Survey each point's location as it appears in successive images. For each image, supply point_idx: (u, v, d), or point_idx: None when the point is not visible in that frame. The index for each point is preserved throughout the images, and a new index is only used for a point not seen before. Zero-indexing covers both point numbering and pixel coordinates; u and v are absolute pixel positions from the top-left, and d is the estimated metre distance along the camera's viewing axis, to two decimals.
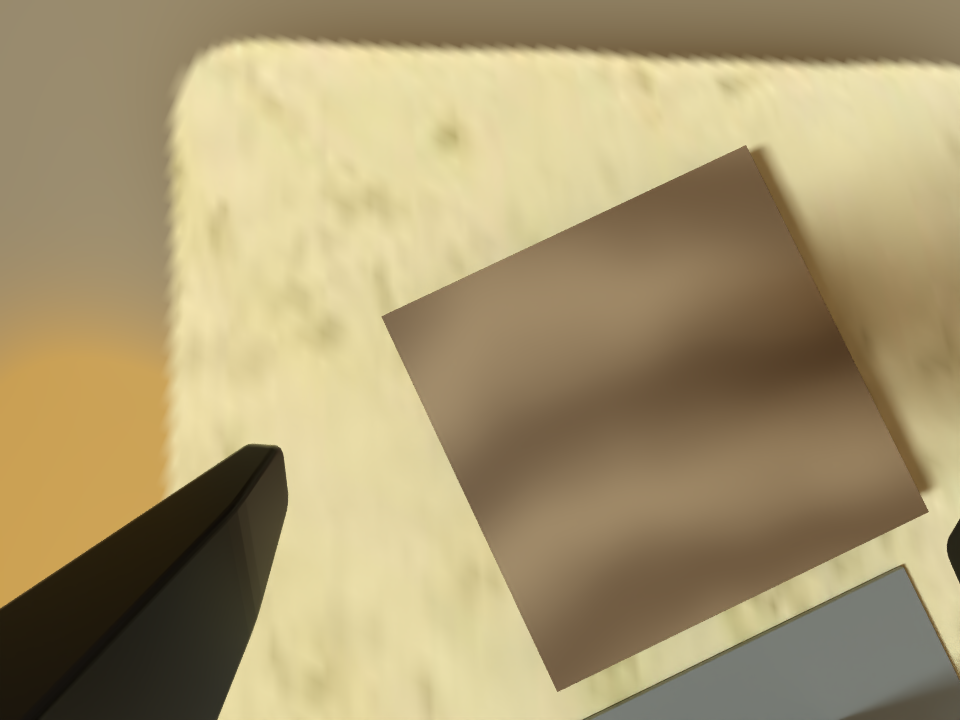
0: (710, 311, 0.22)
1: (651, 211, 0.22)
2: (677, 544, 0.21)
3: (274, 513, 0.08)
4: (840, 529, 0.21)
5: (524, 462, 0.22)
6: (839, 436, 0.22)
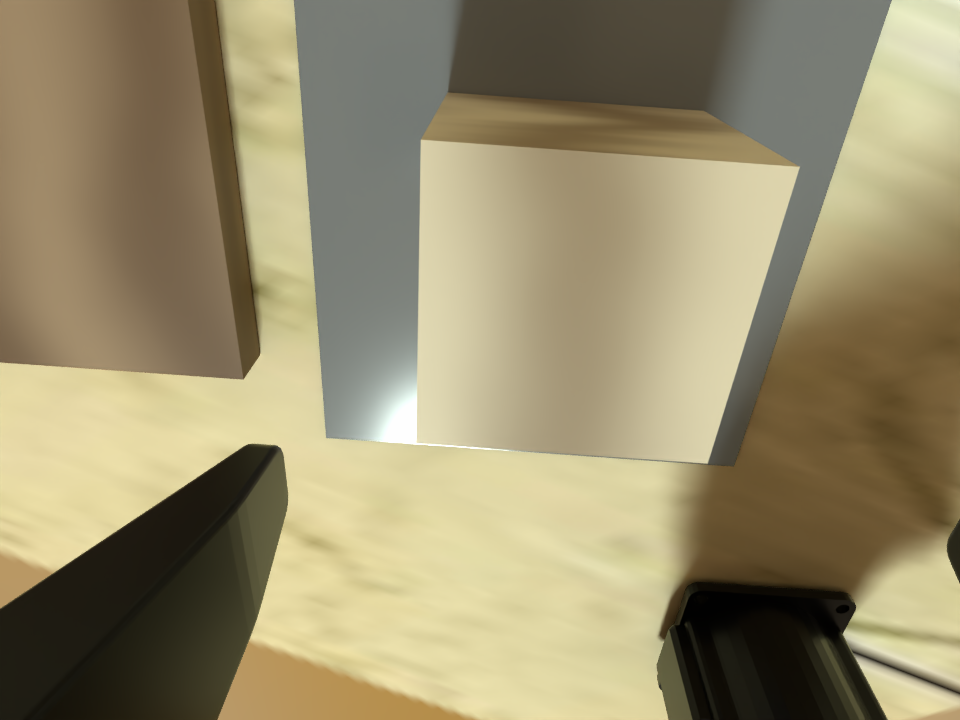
0: None
1: None
2: (109, 179, 0.16)
3: (274, 513, 0.08)
4: None
5: None
6: None
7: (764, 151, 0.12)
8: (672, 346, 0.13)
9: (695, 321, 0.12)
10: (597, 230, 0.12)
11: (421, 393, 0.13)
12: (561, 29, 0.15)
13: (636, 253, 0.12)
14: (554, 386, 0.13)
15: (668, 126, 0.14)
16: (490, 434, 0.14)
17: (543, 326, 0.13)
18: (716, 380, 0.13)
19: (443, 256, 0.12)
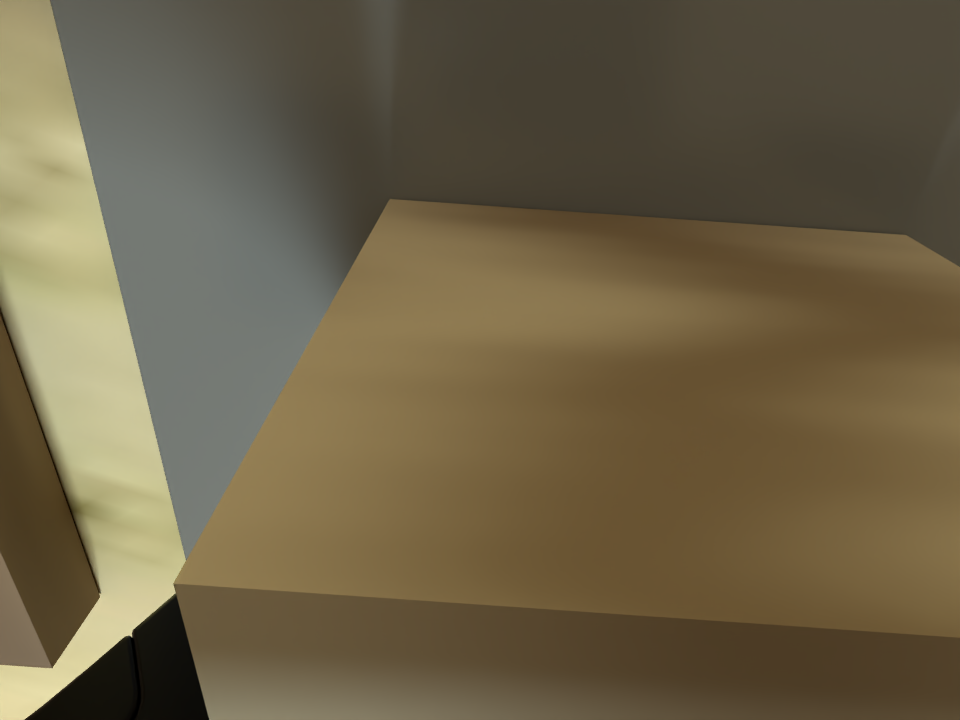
0: None
1: None
2: None
3: None
4: None
5: None
6: None
7: None
8: None
9: None
10: None
11: None
12: (625, 75, 0.07)
13: None
14: None
15: (907, 327, 0.06)
16: None
17: None
18: None
19: None
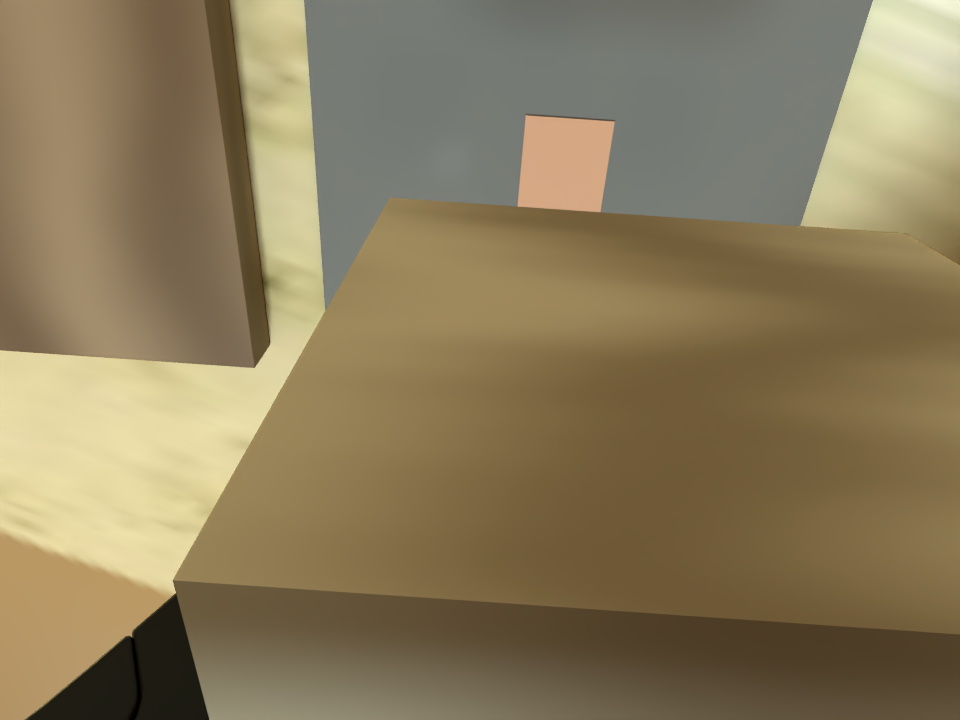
0: None
1: None
2: (128, 175, 0.17)
3: None
4: None
5: None
6: None
7: None
8: None
9: None
10: None
11: None
12: (558, 32, 0.16)
13: None
14: None
15: (908, 325, 0.06)
16: None
17: None
18: None
19: None
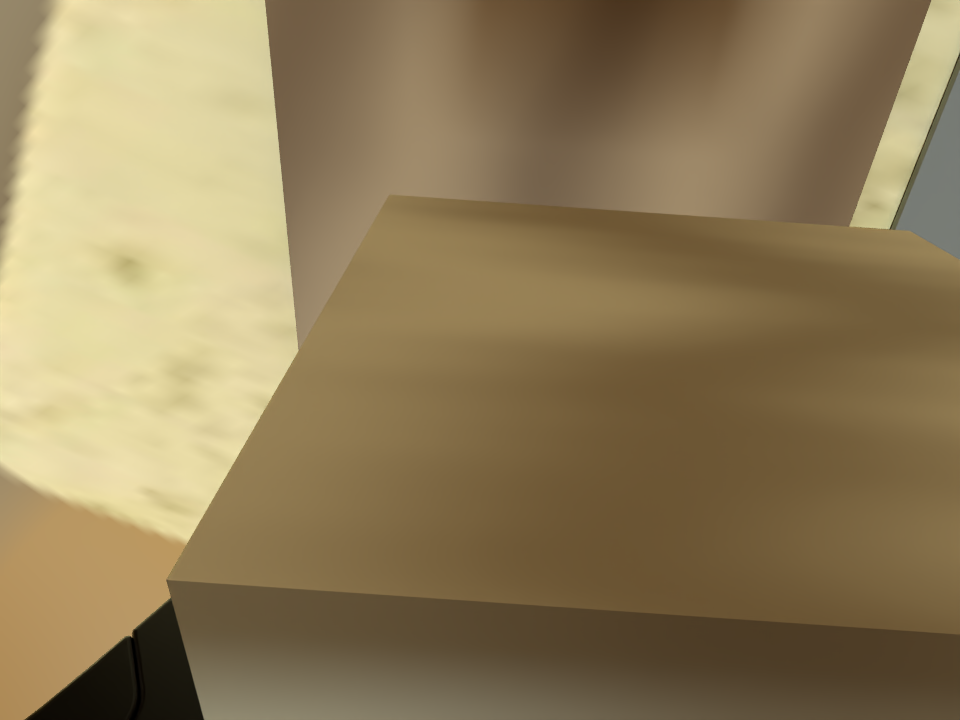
0: (478, 104, 0.14)
1: (305, 106, 0.15)
2: None
3: None
4: (862, 97, 0.14)
5: None
6: (752, 19, 0.13)
7: None
8: None
9: None
10: None
11: None
12: None
13: None
14: None
15: (912, 322, 0.05)
16: None
17: None
18: None
19: None
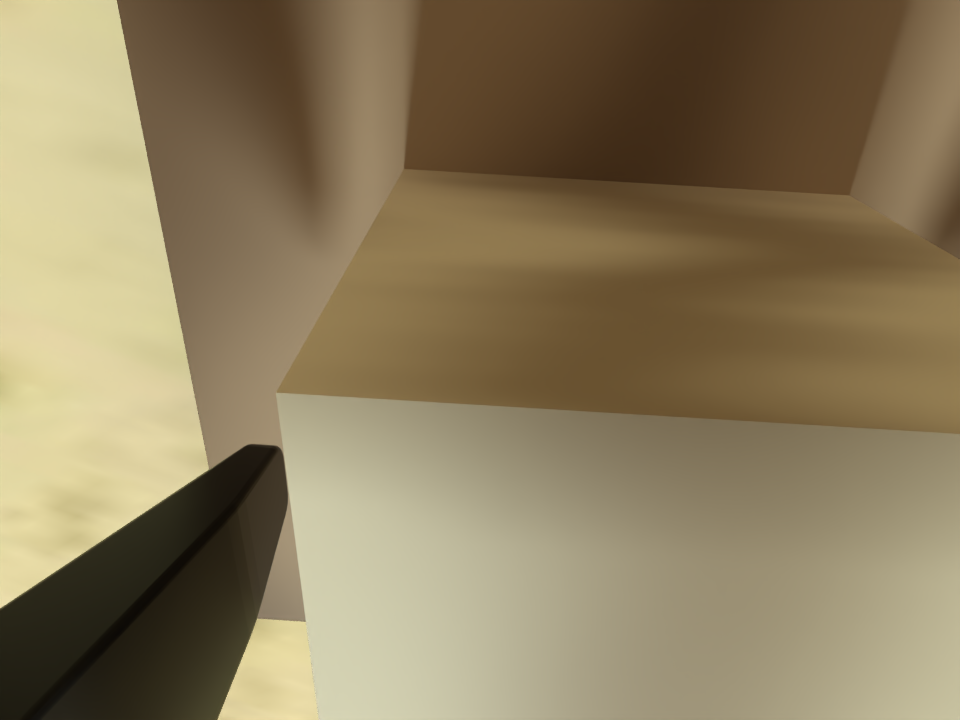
0: (467, 171, 0.09)
1: (197, 172, 0.09)
2: None
3: (274, 513, 0.08)
4: None
5: None
6: (918, 38, 0.08)
7: None
8: None
9: None
10: (730, 572, 0.05)
11: None
12: None
13: (817, 612, 0.05)
14: None
15: (830, 258, 0.07)
16: None
17: None
18: None
19: (362, 613, 0.05)
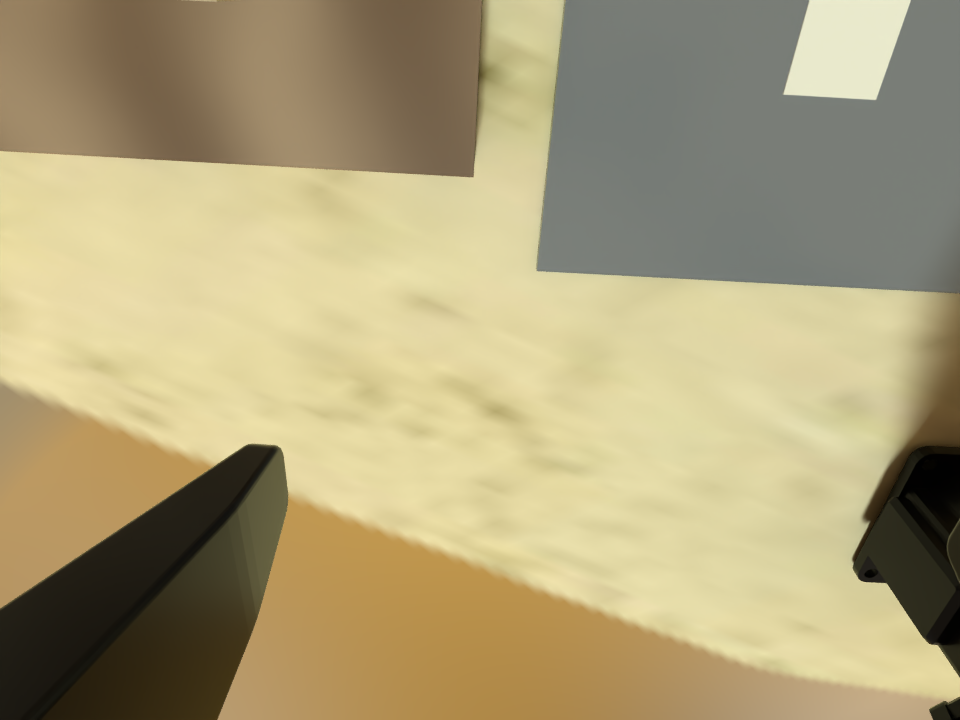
0: None
1: None
2: None
3: (274, 513, 0.08)
4: None
5: (161, 60, 0.15)
6: None
7: None
8: None
9: None
10: None
11: None
12: None
13: None
14: None
15: None
16: None
17: None
18: None
19: None
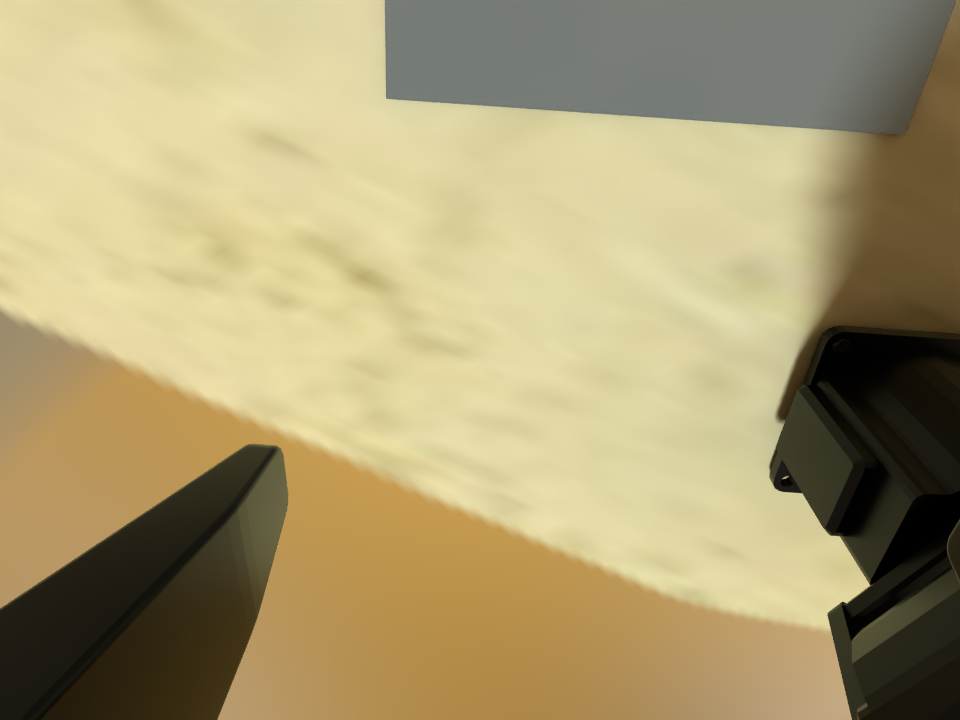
0: None
1: None
2: None
3: (274, 513, 0.08)
4: None
5: None
6: None
7: None
8: None
9: None
10: None
11: None
12: None
13: None
14: None
15: None
16: None
17: None
18: None
19: None
